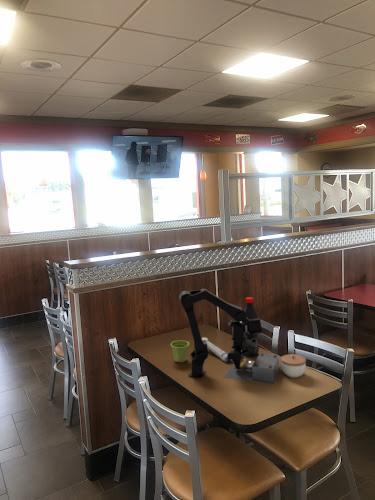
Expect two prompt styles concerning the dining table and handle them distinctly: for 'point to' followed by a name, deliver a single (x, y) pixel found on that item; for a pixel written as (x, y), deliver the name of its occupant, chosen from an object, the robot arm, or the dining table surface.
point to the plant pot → (180, 350)
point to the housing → (265, 367)
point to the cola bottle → (250, 314)
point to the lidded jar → (293, 365)
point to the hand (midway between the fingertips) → (239, 366)
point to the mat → (243, 375)
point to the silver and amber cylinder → (245, 364)
